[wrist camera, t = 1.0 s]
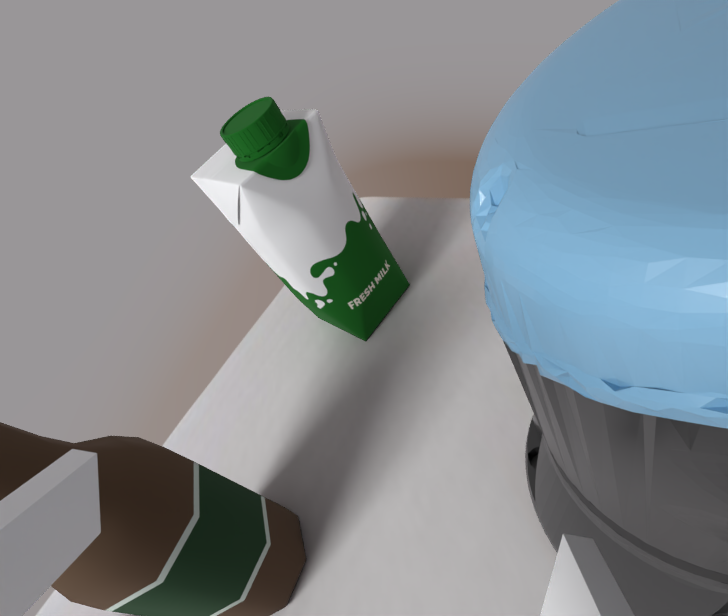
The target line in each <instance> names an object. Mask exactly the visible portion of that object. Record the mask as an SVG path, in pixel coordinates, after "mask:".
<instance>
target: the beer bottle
mask: <svg viewBox="0 0 728 616" xmlns="http://www.w3.org/2000/svg"><path fill="white" fill-rule="evenodd" d="M71 449H76V450H82V451H87V452H93V453H97V462H98V482H99V503H100V524H101V533H100V534H99V535H98V536H97V537H96V538H95V539H94V541H93V542H92V543H91V544H90V545H89V546H88V547H87V548H86V549H85V550H84V551H83V552H82V553H81V554H80V555H79V556H78V557H77V559H76V560H75V561H74V562H73V563H72V564H71V565H70V566H69V567H68V568H67V569H66V570H65V571H64V572H63V573H62V574H61V576H60V577H59V578H58V579H57V580H56V581H55V582H54V583H53V584H52V585H51V586H52V587H53V588H54V589H55V590H57V591H58V592H59V593H61V594H62V595H63V596H64V597H66V598H67V599H68V600H70V601H71V602H75V603H78V604H82V605H86V606H90V607H94V608H97V609H101V610H105V611H112V612H119V613H127V614H134V615H141V616H270V615H272V614H273V613H275V612H277V611H279V610H281V609H283V608H284V607H286V606H287V603H288V601H289V599H290V596H291V594H292V592H293V589H294V587H295V585H296V582H297V580H298V578H299V575H300V573H301V570H302V568H303V566H304V563H305V561H306V556H305V551H304V545H303V540H302V535H301V529H300V524H299V519H298V516H297V515H296V514H294V513H293V512H291V511H289V510H288V509H286V508H285V507H283V506H281V505H279V504H277V503H275V502H273V501H271V500H269V499H267V498H265V497H263V496H261V495H259V494H257V493H255V492H253V491H251V490H249V489H247V488H245V487H243V486H241V485H239V484H237V483H235V482H233V481H231V480H229V479H227V478H225V477H223V476H221V475H219V474H217V473H215V472H213V471H211V470H209V469H207V468H206V467H204V466H202V465H200V464H198V463H196V462H194V461H192V460H189V459H187V458H185V457H183V456H181V455H179V454H177V453H175V452H173V451H171V450H169V449H167V448H164V447H162V446H159V445H157V444H154V443H152V442H149V441H146V440H144V439H141V438H139V437H122V436H108V437H102V438H98V439H93V440H88V441H84V442H78V443H70V442H65V441H61V440H56V439H51V438H46V437H42V436H38V435H35V434H33V433H30V432H27V431H24V430H21V429H18V428H15V427H12V426H9V425H6V424H4V423H0V501H1V500H2V499H4V498H5V497H6V496H8V495H9V494H11V493H12V492H13V491H15V490H16V489H18V488H19V487H20V486H22V485H23V484H24V483H26V482H27V481H29V480H30V479H31V478H33V477H34V476H35V475H37V474H38V473H40V472H41V471H42V470H44V469H45V468H47V467H48V466H49V465H51V464H52V463H53V462H55V461H56V460H58V459H59V458H60V457H62V456H63V455H64V454H66V453H67V452H69V451H70V450H71Z"/></svg>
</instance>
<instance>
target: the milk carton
mask: <svg viewBox="0 0 728 616" xmlns="http://www.w3.org/2000/svg"><path fill="white" fill-rule="evenodd" d="M220 135H221V137H222V138H223V140H224V141H225V142H226V144H225V145H224V146H223V147H222V148H221V149H219V150H218V151H217V153H215V154H214V155H213V156H212V157H211V158H210V159H209V160H208V161H207V162H206V163H204V164H203V165H202V166H201V167H200V168H199V169H198V170H197V171H196V172H195V173H194V174H193V175H192V176H191V179H192V180H193V181H194V182H195V183H196V184H197V185H198V186H199V187H200V188H201V189H202V191H203V192H204V193H205V194H206V195H207V196H208V197H209V198H210V199H211V200H212V202H213V203H214V204H215V205H216V206H217V207H218V208H219V209H220V211H221V212H222V213H223V214H224V215H225V217H226V218H227V219H228V221H229V222H230V223H232V224H233V225H234V226H235V228H236V229H237V230H238V231H239V232H240V234H241V235H242V236H243V237H244V238H245V240H246V241H247V242H248V243H249V244H250V245H251V246H252V248H253V249H254V250H255V251H256V252H257V253H258V254H259V255H260V257H261V258H262V259H263V260H264V261H265V262H266V264H267V265H268V266H269V267H270V268H271V269H272V270H273V271H274V273H275V274H276V275H277V276H278V277H279V278H280V279H281V280H282V282H283V283H284V284H285V285H286V286H287V287H288V288H289V290H290V291H291V292H292V293H293V294H294V295H295V296H296V297H297V298H298V299H299V300H300V301H301V302H302V303H303V304H304V305H305V306H306V307H307V308H309V309H310V310H311V311H312V312H313V313H314V314H315V315H316V316H317V317H318V318H320V319H322V320H324V321H326V322H328V323H330V324H332V325H334V326H336V327H338V328H340V329H342V330H344V331H346V332H348V333H350V334H352V335H354V336H356V337H358V338H360V339H362V340H364V341H366V340H367V339H368V338H369V336H370V335H371V334H372V333H373V331H374V330H375V329H376V327H377V326H378V325H379V324H380V322H381V321H382V320H383V318H384V317H385V316H386V315H387V313H388V312H389V311H390V309H391V308H392V307H393V306H394V304H395V303H396V302H397V300H398V299H399V298H400V297H401V295H402V294H403V293H404V291H405V290H406V289H407V288H408V286H409V285H410V284H409V282H408V281H407V279H406V277H405V276H404V274H403V272H402V271H401V269H400V267H399V266H398V264H397V262H396V261H395V259H394V257H393V256H392V254H391V252H390V250H389V249H388V247H387V246H386V244H385V242H384V241H383V239H382V237H381V236H380V234H379V232H378V230H377V229H376V227H375V225H374V223H373V222H372V220H371V218H370V216H369V215H368V213H367V211H366V209H365V208H364V206H363V204H362V202H361V201H360V199H359V197H358V195H357V194H356V192H355V190H354V189H353V187H352V185H351V183H350V181H349V180H348V178H347V176H346V174H345V173H344V171H343V169H342V167H341V166H340V164H339V162H338V160H337V158H336V156H335V154H334V152H333V149H332V146H331V144H330V141H329V138H328V135H327V133H326V130H325V128H324V125H323V122H322V120H321V117H320V114H319V112H318V111H317V109H306V110H285V111H284V110H280V109H279V108H278V106H277V104H276V103H275V101H274V100H273V99H272V98H271V97H264V98H261V99H258V100H256V101H254V102H252V103H250V104H248V105H247V106H245V107H243V108H242V109H241V110H239V111H238V112H237V113H235V114H234V115H233V116H232V117H231V118H230V119H229V120H228V121H227V122H226V123H225V124H224V126H223V127H222V129H221V131H220Z"/></svg>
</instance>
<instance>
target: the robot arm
mask: <svg viewBox="0 0 728 616" xmlns="http://www.w3.org/2000/svg"><path fill="white" fill-rule="evenodd" d="M470 215H471V224H472V228H473V233H474V237H475V241H476V245H477V249H478V252H479V256H480V260H481V263H482V267H483V271H484V274H485V298H486V304H487V306H488V307H489V309H490V311H491V317H492V321H493V323H494V325H495V327H496V329H497V331H498V333H499V334H500V336H501V338H502V339H503V341H504V344H505V346H506V348H507V351H508V353H509V356H510V358H511V360H512V363H513V365H514V367H515V370H516V372H517V374H518V377H519V379H520V381H521V384H522V386H523V388H524V391H525V393H526V395H527V398H528V400H529V402H530V405H531V407H532V410H533V412H534V415H533V417H532V420H531V424H530V427H529V431H528V436H527V442H526V454H525V458H526V474H527V481H528V487H529V491H530V495H531V499H532V502H533V505H534V508H535V511H536V513H537V516H538V518H539V521H540V523H541V525H542V527H543V529H544V531H545V533H546V535H547V537H548V538H549V540H550V542H551V544H552V545H553V547H554V549H555V550H556V552H557V557H556V561H555V564H554V568H553V571H552V575H551V579H550V582H549V586H548V589H547V593H546V597H545V600H544V604H543V607H542V611H541V616H728V0H619V1H617V2H616V3H614V4H613V5H611V6H610V7H609V8H607V9H606V10H604V11H603V12H602V13H600V14H599V15H597V16H596V17H595V18H593V19H592V20H591V21H589V22H588V23H587V24H585V25H584V26H583V27H582V28H580V29H579V30H578V31H577V32H576V33H574V34H573V35H572V36H571V37H569V38H568V39H567V40H566V41H564V42H563V43H562V44H561V45H560V46H559V47H558V48H556V49H555V50H554V51H553V52H552V53H551V54H550V55H549V56H548V57H547V58H546V59H544V60H543V61H542V62H541V63H540V64H539V66H538V67H537V68H536V69H535V70H534V71H533V72H532V73H531V74H530V75H529V76H528V78H527V79H526V80H525V81H524V82H523V83H522V84H521V85H520V86H519V87H518V89H517V90H516V91H515V92H514V93H513V95H512V96H511V97H510V99H509V100H508V101H507V103H506V104H505V105H504V107H503V108H502V110H501V111H500V113H499V115H498V116H497V118H496V119H495V121H494V123H493V124H492V126H491V128H490V130H489V131H488V133H487V135H486V137H485V139H484V142H483V144H482V147H481V149H480V152H479V155H478V158H477V161H476V165H475V168H474V171H473V177H472V182H471V188H470ZM100 533H101V524H100V503H99V482H98V462H97V453H93V452H87V451H82V450H76V449H71V450H70V451H69V452H67V453H66V454H64V455H63V456H62V457H60V458H59V459H58V460H56V461H55V462H53V463H52V464H51V465H49V466H48V467H47V468H45V469H44V470H42V471H41V472H40V473H38V474H37V475H35V476H34V477H33V478H31V479H30V480H29V481H27V482H26V483H24V484H23V485H22V486H20V487H19V488H18V489H16V490H15V491H13V492H12V493H11V494H9V495H8V496H6V497H5V498H4V499H2V500H1V501H0V616H23V615H24V614H25V613H26V612H27V611H28V609H29V608H30V607H31V606H32V605H33V604H34V603H35V602H36V601H37V600H38V599H39V598H40V597H41V596H42V595H43V594H44V592H45V591H46V590H47V589H48V588H49V587H50V586H51V585H52V584H53V583H54V582H55V581H56V580H57V579H58V578H59V577H60V576H61V574H62V573H63V572H64V571H65V570H66V569H67V568H68V567H69V566H70V565H71V564H72V563H73V562H74V561H75V560H76V559H77V557H78V556H79V555H80V554H81V553H82V552H83V551H84V550H85V549H86V548H87V547H88V546H89V545H90V544H91V543H92V542H93V541H94V539H95V538H96V537H97V536H98V535H99V534H100Z"/></svg>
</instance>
